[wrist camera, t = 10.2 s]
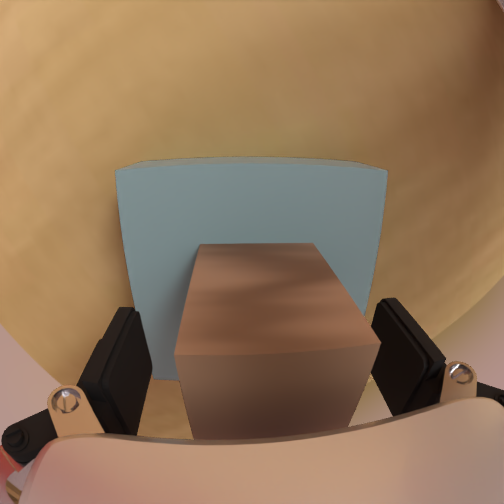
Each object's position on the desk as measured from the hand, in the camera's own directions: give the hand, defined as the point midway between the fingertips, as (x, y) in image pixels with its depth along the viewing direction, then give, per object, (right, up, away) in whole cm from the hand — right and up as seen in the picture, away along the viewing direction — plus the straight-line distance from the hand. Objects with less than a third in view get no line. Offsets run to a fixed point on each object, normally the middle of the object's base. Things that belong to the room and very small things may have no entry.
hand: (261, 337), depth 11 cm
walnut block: (0, +1, +3) cm, 3 cm away
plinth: (0, +3, +7) cm, 7 cm away
